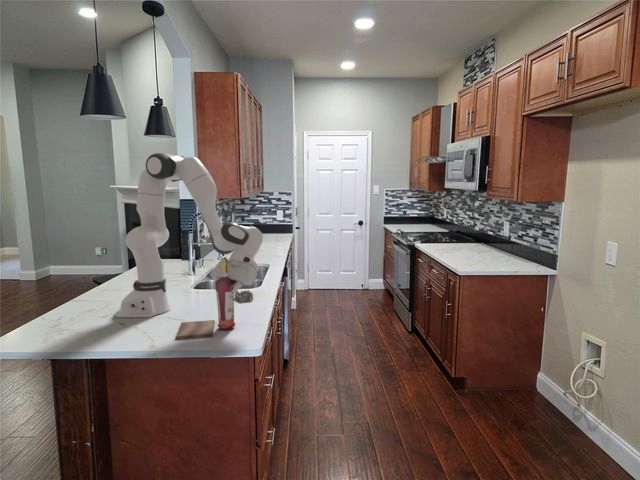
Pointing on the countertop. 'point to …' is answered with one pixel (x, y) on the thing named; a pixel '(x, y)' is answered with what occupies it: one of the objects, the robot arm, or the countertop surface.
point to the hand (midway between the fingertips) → (224, 290)
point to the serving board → (195, 329)
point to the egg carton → (244, 296)
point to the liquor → (225, 298)
